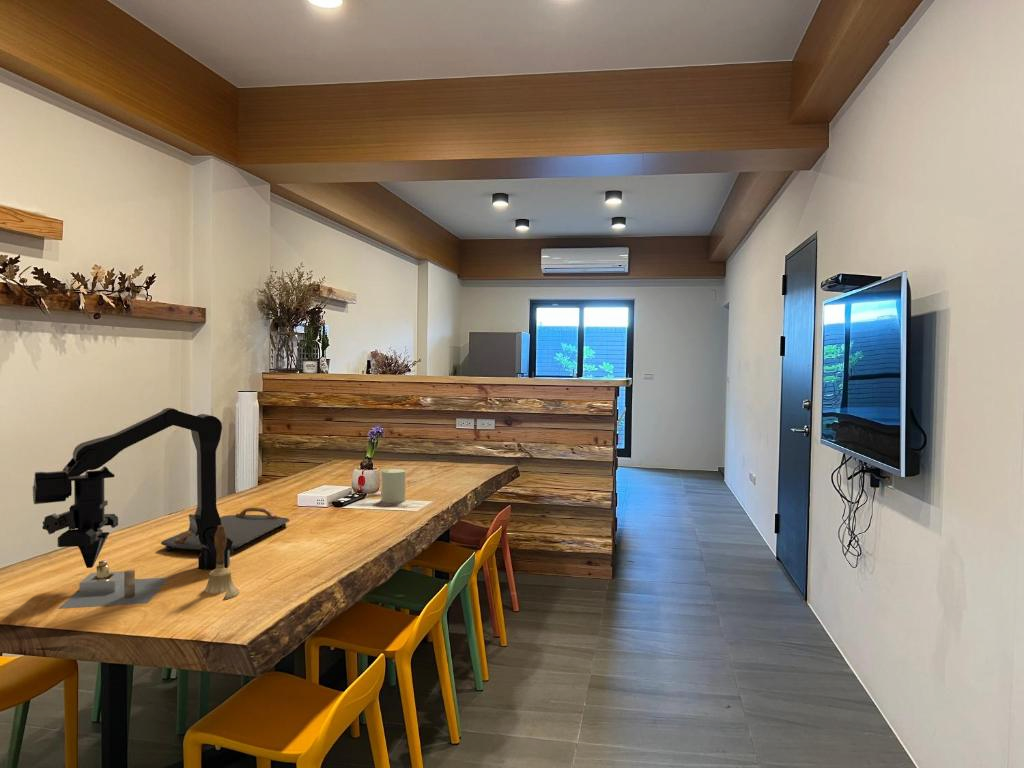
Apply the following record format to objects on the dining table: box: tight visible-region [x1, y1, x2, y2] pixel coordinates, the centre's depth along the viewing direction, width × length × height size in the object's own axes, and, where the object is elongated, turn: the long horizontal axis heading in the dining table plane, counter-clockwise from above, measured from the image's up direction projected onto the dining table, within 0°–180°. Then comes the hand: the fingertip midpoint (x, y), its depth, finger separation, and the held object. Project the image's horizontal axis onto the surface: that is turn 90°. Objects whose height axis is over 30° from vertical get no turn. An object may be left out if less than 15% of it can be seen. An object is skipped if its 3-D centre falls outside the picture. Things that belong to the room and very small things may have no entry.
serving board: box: [160, 506, 290, 556], centre depth 200 cm, size 39×23×6 cm, turn 172°
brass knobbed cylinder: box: [96, 560, 110, 580], centre depth 151 cm, size 2×2×6 cm
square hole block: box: [78, 570, 126, 594], centre depth 151 cm, size 7×7×2 cm
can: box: [380, 468, 407, 504], centre depth 256 cm, size 9×9×12 cm
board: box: [57, 576, 169, 610], centre depth 149 cm, size 17×17×2 cm
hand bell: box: [204, 525, 240, 601], centre depth 152 cm, size 8×8×16 cm
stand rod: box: [124, 569, 136, 598], centre depth 146 cm, size 2×2×6 cm
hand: (89, 567), depth 150 cm, fingers closed
